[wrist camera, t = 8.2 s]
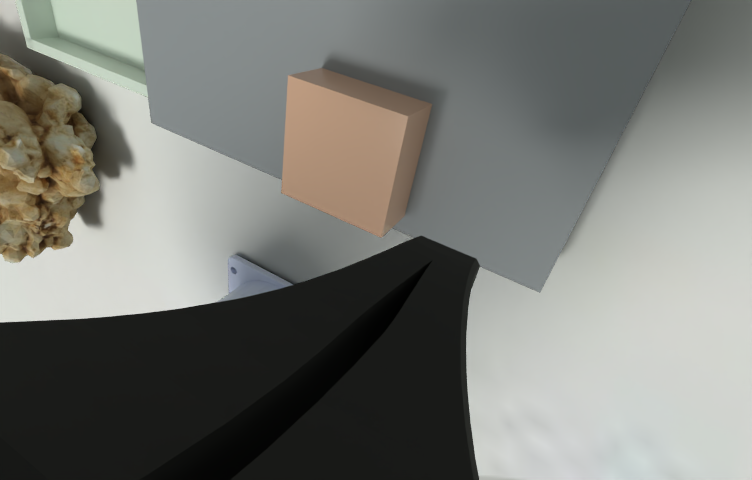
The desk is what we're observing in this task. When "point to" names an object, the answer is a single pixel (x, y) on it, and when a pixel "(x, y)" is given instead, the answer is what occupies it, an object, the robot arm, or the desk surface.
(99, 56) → the tray
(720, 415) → the desk surface
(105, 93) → the desk surface
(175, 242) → the desk surface
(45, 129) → the mineral formation
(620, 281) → the desk surface
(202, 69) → the board
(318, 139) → the tile
